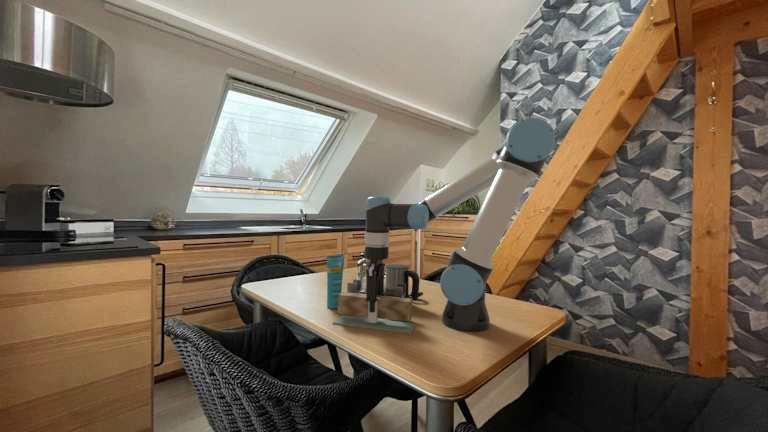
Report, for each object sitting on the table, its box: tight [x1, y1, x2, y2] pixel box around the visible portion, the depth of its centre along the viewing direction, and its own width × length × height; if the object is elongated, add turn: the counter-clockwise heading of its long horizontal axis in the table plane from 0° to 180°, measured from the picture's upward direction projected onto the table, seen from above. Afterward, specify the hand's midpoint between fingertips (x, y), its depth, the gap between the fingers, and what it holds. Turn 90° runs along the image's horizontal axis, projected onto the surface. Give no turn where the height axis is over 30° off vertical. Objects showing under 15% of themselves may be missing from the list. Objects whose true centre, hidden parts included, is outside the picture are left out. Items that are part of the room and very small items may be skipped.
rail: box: [337, 291, 413, 323], centre depth 107 cm, size 23×4×6 cm, turn 76°
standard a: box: [387, 283, 406, 322], centre depth 114 cm, size 6×6×11 cm
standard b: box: [344, 278, 363, 317], centre depth 118 cm, size 6×6×11 cm
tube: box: [326, 254, 345, 309], centre depth 124 cm, size 7×5×19 cm, turn 134°
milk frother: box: [385, 263, 424, 302], centre depth 134 cm, size 14×16×15 cm
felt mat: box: [332, 314, 416, 334], centre depth 107 cm, size 25×8×1 cm, turn 76°
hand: (374, 319), depth 107 cm, fingers closed on rail, 4 cm apart
